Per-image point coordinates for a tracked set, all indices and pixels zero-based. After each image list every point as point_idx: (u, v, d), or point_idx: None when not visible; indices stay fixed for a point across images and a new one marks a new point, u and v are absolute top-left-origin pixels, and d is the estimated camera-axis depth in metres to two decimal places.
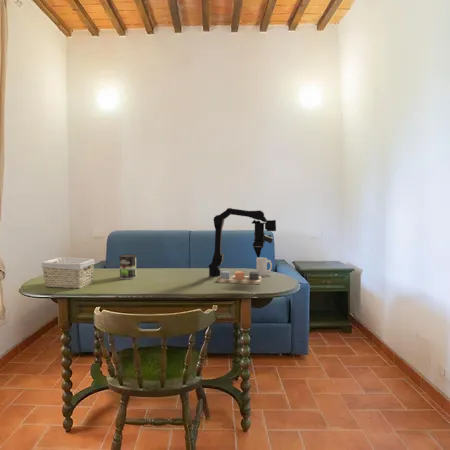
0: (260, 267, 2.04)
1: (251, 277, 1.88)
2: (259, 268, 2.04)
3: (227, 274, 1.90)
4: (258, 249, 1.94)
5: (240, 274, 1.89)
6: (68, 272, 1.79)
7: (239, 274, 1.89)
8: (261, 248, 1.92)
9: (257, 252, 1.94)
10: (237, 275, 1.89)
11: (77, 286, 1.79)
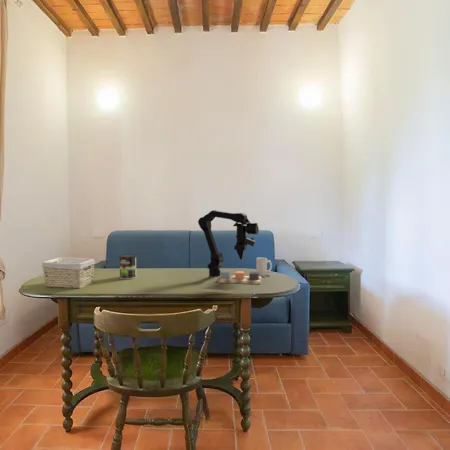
0: (260, 267, 2.04)
1: (251, 277, 1.88)
2: (259, 268, 2.04)
3: (227, 274, 1.90)
4: (241, 251, 1.96)
5: (240, 274, 1.89)
6: (68, 272, 1.79)
7: (239, 274, 1.89)
8: (243, 250, 1.94)
9: (240, 254, 1.96)
10: (237, 275, 1.89)
11: (77, 286, 1.80)
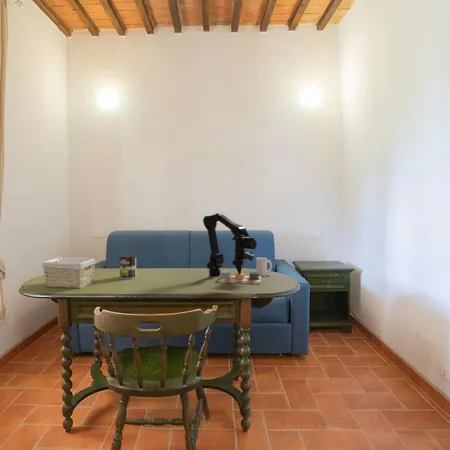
0: (260, 267, 2.04)
1: (251, 277, 1.88)
2: (259, 268, 2.04)
3: (227, 274, 1.90)
4: (239, 266, 1.90)
5: (240, 276, 1.89)
6: (69, 272, 1.80)
7: (239, 276, 1.89)
8: (242, 265, 1.89)
9: (238, 269, 1.90)
10: (237, 277, 1.89)
11: (78, 286, 1.80)
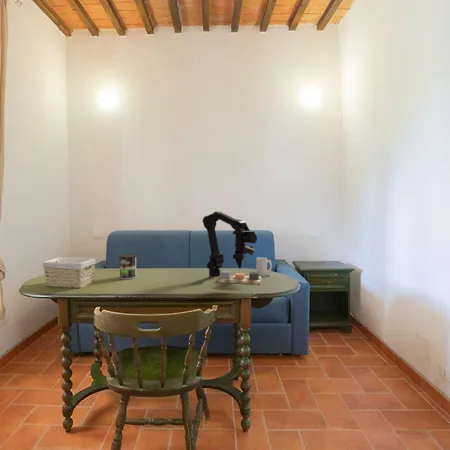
0: (260, 267, 2.04)
1: (251, 277, 1.88)
2: (259, 268, 2.04)
3: (227, 274, 1.90)
4: (239, 260, 1.89)
5: (240, 276, 1.89)
6: (69, 272, 1.80)
7: (239, 276, 1.89)
8: (242, 259, 1.88)
9: (238, 263, 1.90)
10: (237, 277, 1.89)
11: (78, 286, 1.80)
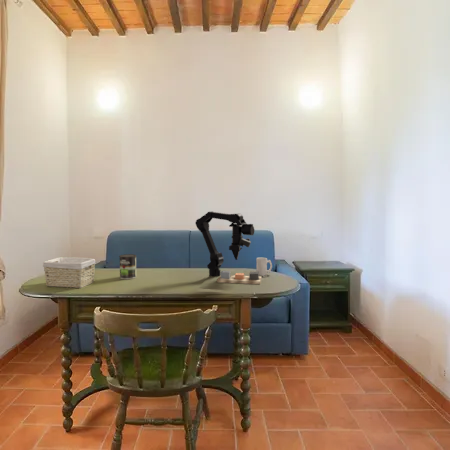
0: (260, 267, 2.04)
1: (251, 277, 1.88)
2: (259, 268, 2.04)
3: (227, 274, 1.90)
4: (236, 251, 1.96)
5: (240, 276, 1.89)
6: (69, 272, 1.80)
7: (239, 276, 1.89)
8: None
9: (235, 254, 1.96)
10: (237, 277, 1.89)
11: (78, 286, 1.80)
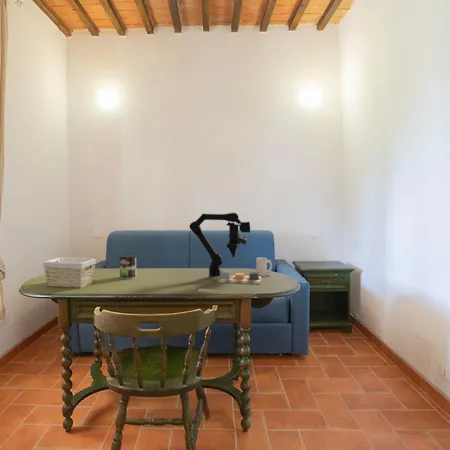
0: (260, 267, 2.04)
1: (251, 277, 1.88)
2: (259, 268, 2.04)
3: (227, 274, 1.90)
4: (233, 249, 2.03)
5: (240, 276, 1.89)
6: (70, 272, 1.80)
7: (239, 276, 1.89)
8: (236, 248, 2.02)
9: (232, 252, 2.03)
10: (237, 277, 1.89)
11: (78, 285, 1.81)
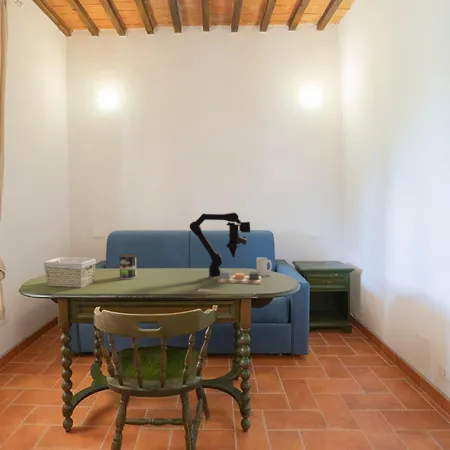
0: (260, 267, 2.04)
1: (251, 277, 1.88)
2: (259, 268, 2.04)
3: (227, 274, 1.90)
4: (233, 249, 2.03)
5: (240, 276, 1.89)
6: (70, 271, 1.80)
7: (239, 276, 1.89)
8: (236, 248, 2.02)
9: (232, 252, 2.03)
10: (237, 277, 1.89)
11: (79, 285, 1.81)
